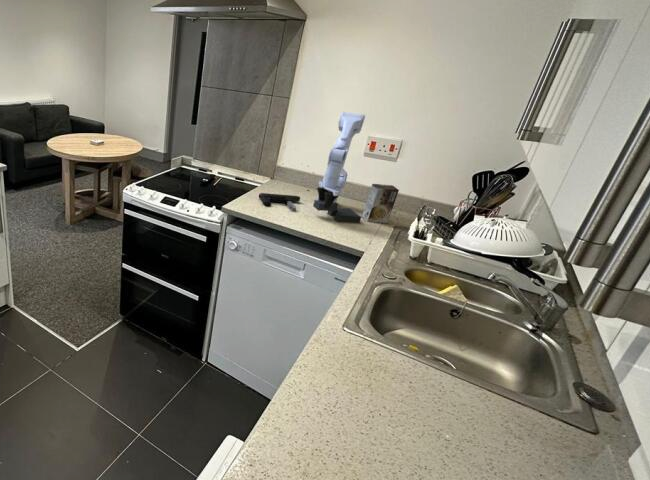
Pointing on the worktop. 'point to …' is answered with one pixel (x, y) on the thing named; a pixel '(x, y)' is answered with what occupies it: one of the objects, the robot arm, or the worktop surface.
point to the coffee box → (380, 203)
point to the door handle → (279, 199)
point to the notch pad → (345, 215)
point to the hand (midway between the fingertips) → (323, 205)
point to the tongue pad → (320, 206)
